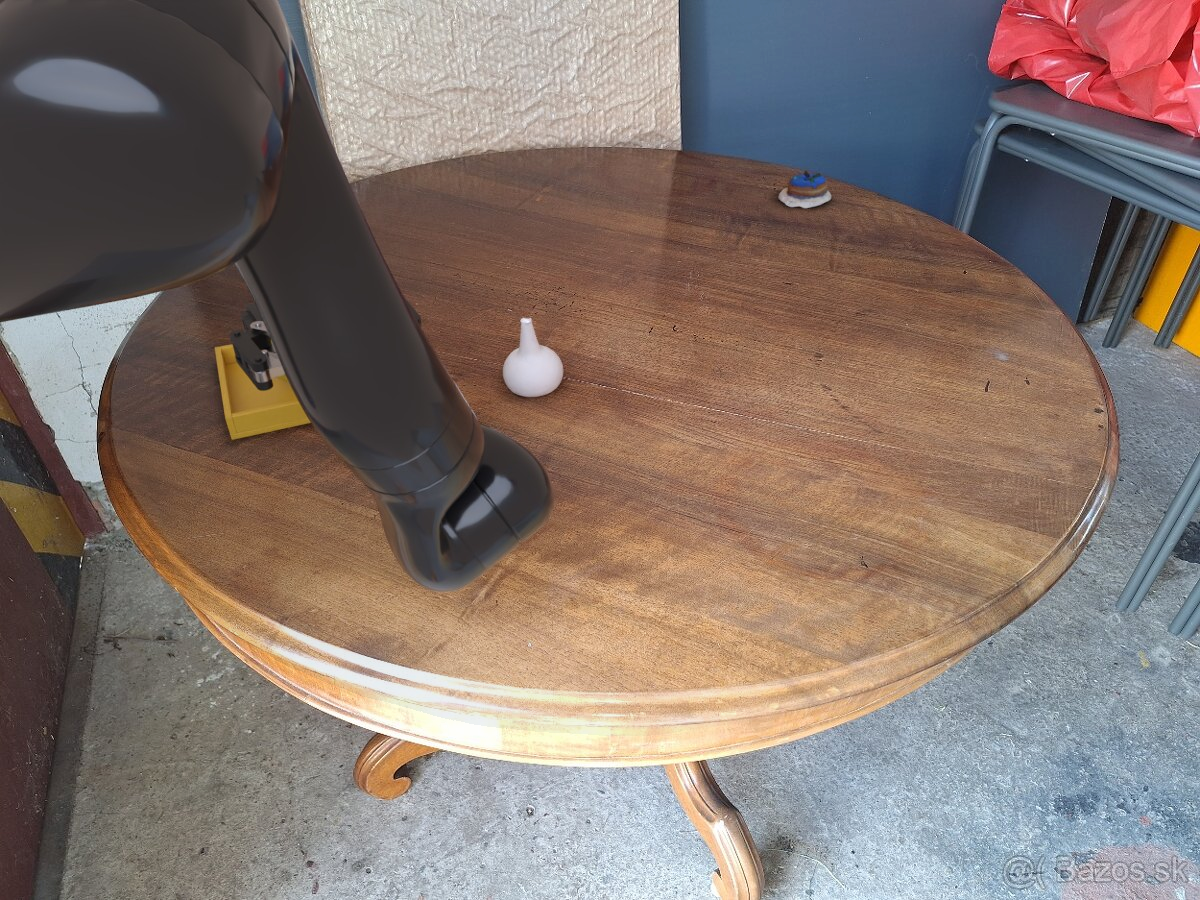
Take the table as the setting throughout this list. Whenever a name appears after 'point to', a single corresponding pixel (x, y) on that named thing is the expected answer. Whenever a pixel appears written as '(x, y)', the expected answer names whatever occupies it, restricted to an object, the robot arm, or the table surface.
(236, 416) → the yellow tray
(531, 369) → the garlic bulb
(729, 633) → the table surface
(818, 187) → the dessert
